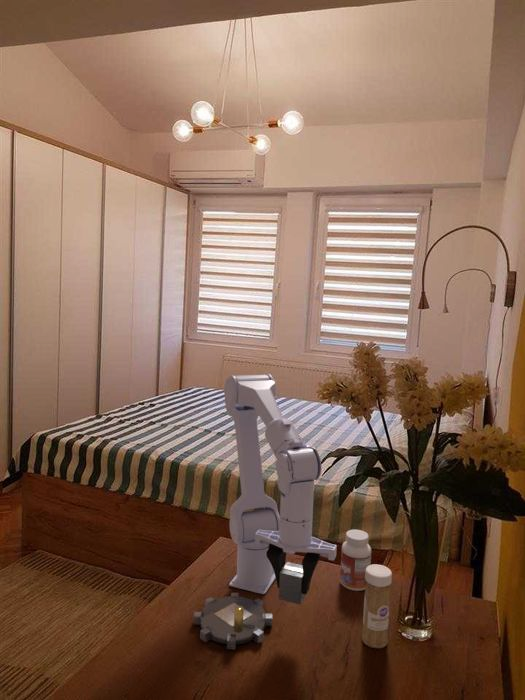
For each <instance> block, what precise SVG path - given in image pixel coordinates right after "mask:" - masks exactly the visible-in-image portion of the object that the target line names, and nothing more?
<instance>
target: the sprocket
mask: <svg viewBox="0 0 525 700" xmlns="http://www.w3.org/2000/svg"><path fill="white" fill-rule="evenodd" d="M230 594H231V595H230V596H223V597H219V598H216V599H215V598H213V597H212V596H211V597H209V598H206V599H205V601H204V603H205V604H204V605H205V606H204V607H203V608H202V610H201V611H194V614H193V625H200V631H199V639H200V640H201V641H202V642H204V643H207V642H208V641H210V640H212V641H214V642H216V643H219V644H223V645H226V649H227V650H236V645H242V644H246V643H250V642H252V641H254V642H255V643H257V644H260V643H261V642H262V641H264V637H265V628H266V627H273V613H266V611H265V609H264V600H262V599H261V598H259V597H257V598H255V599H254V600H253V599H250V598H247V597H244V596H239V592H231V593H230Z"/></svg>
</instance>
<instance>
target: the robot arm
mask: <svg viewBox="0 0 525 700" xmlns="http://www.w3.org/2000/svg"><path fill="white" fill-rule="evenodd" d="M276 393H277V385H276V381H275V378H274V377H273V376H272V374H271V373H265V374H245V375H241V374H240V375H233V374H231V375H228V376H227V378H226V379H225V383H224V389H223V394H224V402H225V403H224V405H225V410H226V415H227V416H229V417H231V418H233V423H234V430H235V431H234V432H235V440H236V450H237V452H236V453H237V459H238V460H237V462H238V471H239V481H240V494H241V495H240V496H239V497H238V498H237V499H236V500H235V501H234V503H232V504H231V506H230V509H229V524H228V525H229V533H230V534H229V535H230V536H231V539H232V541H233V542H234V543H235V544H236V545H237V551H236V552H237V557H236V575H234V577H233V579H232V580H231V581H230V582H229V586H230V587H233V588H237V589H241V590H245V591H249V592H251V593H256V594H260V595H265V594H266V593H267V592H268V590H269V589H270V587H271V586H272V584H273V582H275V581H276V586H277V588H278V589H279V582H280V572H281V570H282V568H283V567H284V565H285V564H286V563H287V562H286V560H287V559H286V558H287V554H290V555H294V554H295V553H305V555H304V557H303V558H302V560H301V565H302V566H303V585H302V593H303V594H305V596H306V595H307V594H308V592H309V590H310V586H311V581H312V578H313V574H314V572H315V569H316V567H317V565H318V563H319V561H320V559H321V557H323V558H327V559H328V561H335V559H336V557H337V551H338V550H337V547H338V545H337V544H332V543H329V542H327V541H324V540H322V539H319V538H316V537H315V536H313V535H312V534H313V533H312V532H313V516H314V515H313V514H314V512H313V511H314V494H315V493H314V490H315V481H316V480H318V479H320V476H321V473H322V462H321V456H320V455H319V452H318V450H317V448H316V447H315V446H311V445H310V444H309V443H305V442H304V440H303V439H302V437H301V435H300V433H299V431H298V430H297V429H296V427H295V425H294V423H293V422H292V421H291V420H290V419H288V418H284V416H283V414H282V412H281V410H280V407H279V405H278V403H277V401H276ZM259 418H260V420H261V421H262V422H263V424H264V425H265V427H266V429H265V431H264V437H265V439H266V442H267V443H268V444H269V446H270V449H271V451H272V453H273V455H274V457H275V459H276V461H275V470H276V475H277V486H278V490H279V491H280V507H279V510H278V504H277V502H276V501H275V500H274V499H273V498H272V497H270V496H268V495H267V494H266V493H265V485H264V477H263V476H264V474H263V468H262V467H263V466H262V457H261V448H260V440H259V430H258V419H259ZM261 508H262V509H261ZM253 509H254V510H253Z"/></svg>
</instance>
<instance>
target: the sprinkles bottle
mask: <svg viewBox="0 0 525 700" xmlns="http://www.w3.org/2000/svg"><path fill="white" fill-rule="evenodd" d="M392 577H393V573H392V570H391V569H390V568H388V567H387V566H385V565H383V564H376V563H375V564H373V563H372V564H371V565H369V566H368V567H367V568H366V571H365V581H366V587H365V589H364V595H363V596H364V600H363V615H362V616H363V618H362V623H363V625H362V635H361V641H362V642H363V643H364V644H365V645H366V646H368V647H369V648H373V649H383V648H385V647H386V646H387V644H388V629H389V619H390V597H391V596H390V594H391V584H392V582H393V581H392V579H393V578H392Z"/></svg>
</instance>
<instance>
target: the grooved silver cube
mask: <svg viewBox="0 0 525 700" xmlns="http://www.w3.org/2000/svg"><path fill="white" fill-rule="evenodd" d="M302 585H303V566H302V564H299V563H298V564H297V563H294V562H289V561H287V562H285V565H284V567H283V568H282V570H281V572H280V582H279V588H278V600H280V601H284V602H289V603H293V604H297V605H300V606H301V604H302V603H303V601H304V599H305V597H306V595H305V594H303V593H302Z"/></svg>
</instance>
